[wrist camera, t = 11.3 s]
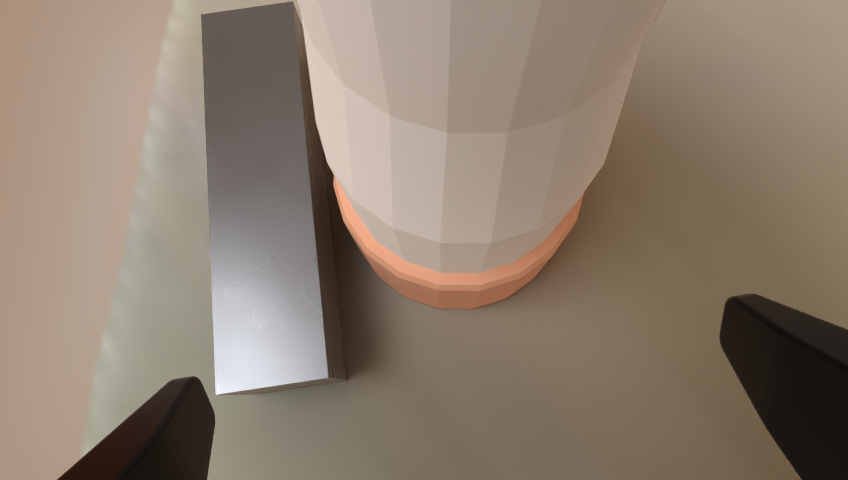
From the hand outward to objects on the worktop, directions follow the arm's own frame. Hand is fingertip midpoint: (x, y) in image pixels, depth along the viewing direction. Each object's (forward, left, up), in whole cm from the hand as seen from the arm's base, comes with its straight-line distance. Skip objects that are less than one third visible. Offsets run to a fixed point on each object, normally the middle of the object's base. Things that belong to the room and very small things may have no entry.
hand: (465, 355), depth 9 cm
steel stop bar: (+6, +5, -8) cm, 11 cm away
